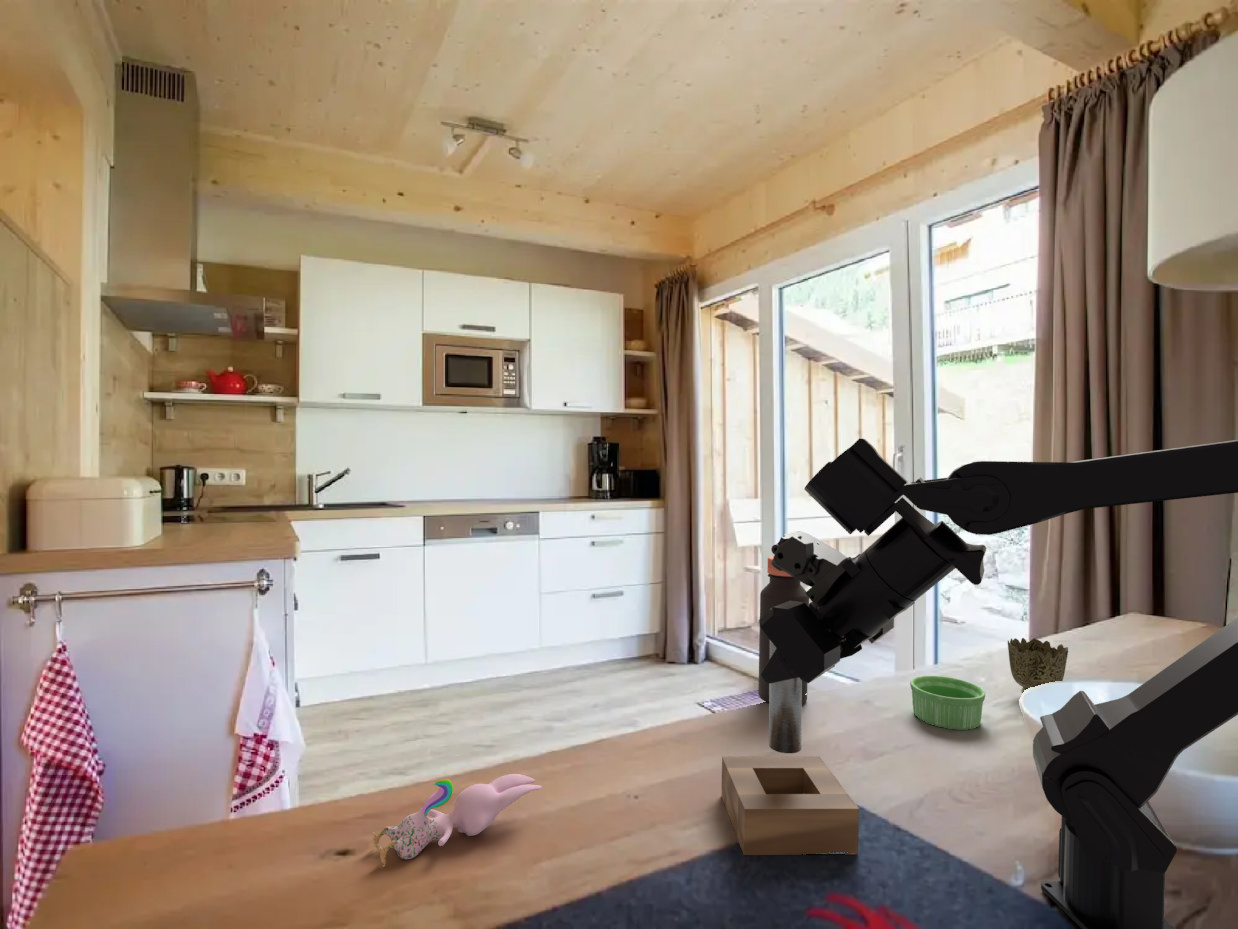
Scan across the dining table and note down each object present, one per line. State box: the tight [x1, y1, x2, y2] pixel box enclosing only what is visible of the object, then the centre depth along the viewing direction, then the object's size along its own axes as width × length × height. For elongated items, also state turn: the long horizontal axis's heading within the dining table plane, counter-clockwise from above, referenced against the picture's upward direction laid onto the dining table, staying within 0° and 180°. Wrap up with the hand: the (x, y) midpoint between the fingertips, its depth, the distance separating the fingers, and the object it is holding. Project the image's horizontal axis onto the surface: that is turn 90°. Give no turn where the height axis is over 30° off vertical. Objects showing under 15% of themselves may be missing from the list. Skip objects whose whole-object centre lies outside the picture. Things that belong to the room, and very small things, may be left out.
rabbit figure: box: [372, 773, 542, 868], centre depth 60 cm, size 6×6×15 cm
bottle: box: [757, 555, 810, 705], centre depth 95 cm, size 7×7×20 cm
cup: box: [1007, 637, 1069, 694], centre depth 96 cm, size 8×7×8 cm
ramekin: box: [909, 675, 986, 731], centre depth 89 cm, size 9×9×4 cm
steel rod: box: [768, 608, 803, 754], centre depth 64 cm, size 3×3×13 cm
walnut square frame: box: [720, 755, 860, 856], centre depth 63 cm, size 10×10×4 cm
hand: (772, 674), depth 64 cm, fingers closed on steel rod, 3 cm apart
